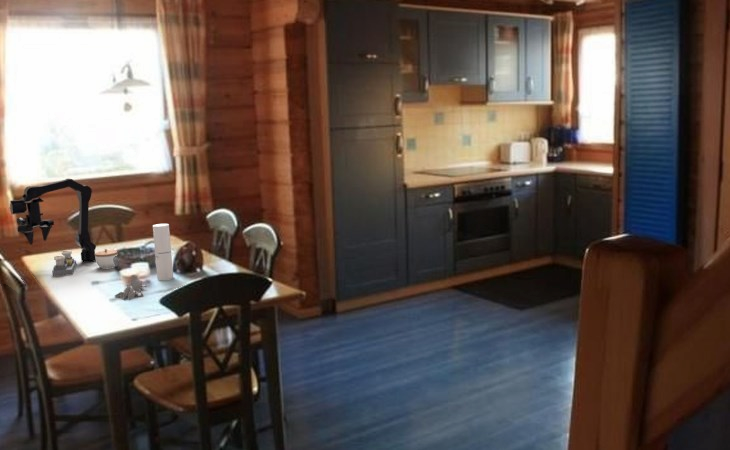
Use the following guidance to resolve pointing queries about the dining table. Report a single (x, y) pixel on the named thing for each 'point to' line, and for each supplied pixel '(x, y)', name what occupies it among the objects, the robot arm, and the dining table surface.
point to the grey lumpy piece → (132, 289)
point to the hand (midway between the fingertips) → (38, 242)
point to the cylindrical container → (163, 251)
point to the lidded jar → (105, 258)
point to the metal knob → (69, 261)
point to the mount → (64, 269)
